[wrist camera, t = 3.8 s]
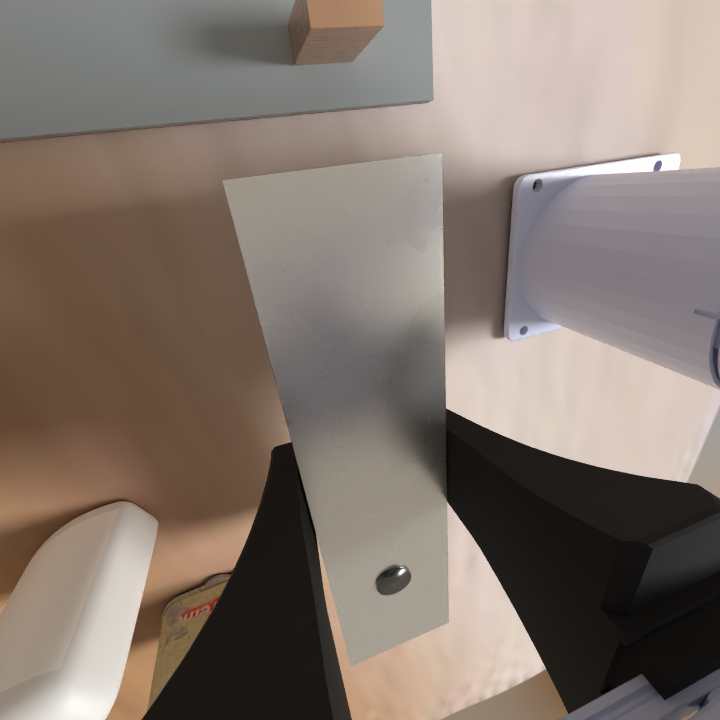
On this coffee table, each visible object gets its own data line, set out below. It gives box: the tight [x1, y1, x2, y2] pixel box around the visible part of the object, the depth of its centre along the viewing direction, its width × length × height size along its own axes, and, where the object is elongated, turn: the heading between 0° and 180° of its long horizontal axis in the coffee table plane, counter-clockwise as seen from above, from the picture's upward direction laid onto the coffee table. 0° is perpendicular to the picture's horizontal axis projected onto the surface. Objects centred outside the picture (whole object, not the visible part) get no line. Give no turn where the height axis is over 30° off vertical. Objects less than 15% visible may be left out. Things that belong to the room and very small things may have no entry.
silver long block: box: [222, 152, 449, 666], centre depth 12 cm, size 16×4×4 cm, turn 7°
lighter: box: [147, 574, 231, 711], centre depth 17 cm, size 7×4×10 cm, turn 101°
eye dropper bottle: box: [0, 501, 159, 720], centre depth 12 cm, size 4×6×12 cm
